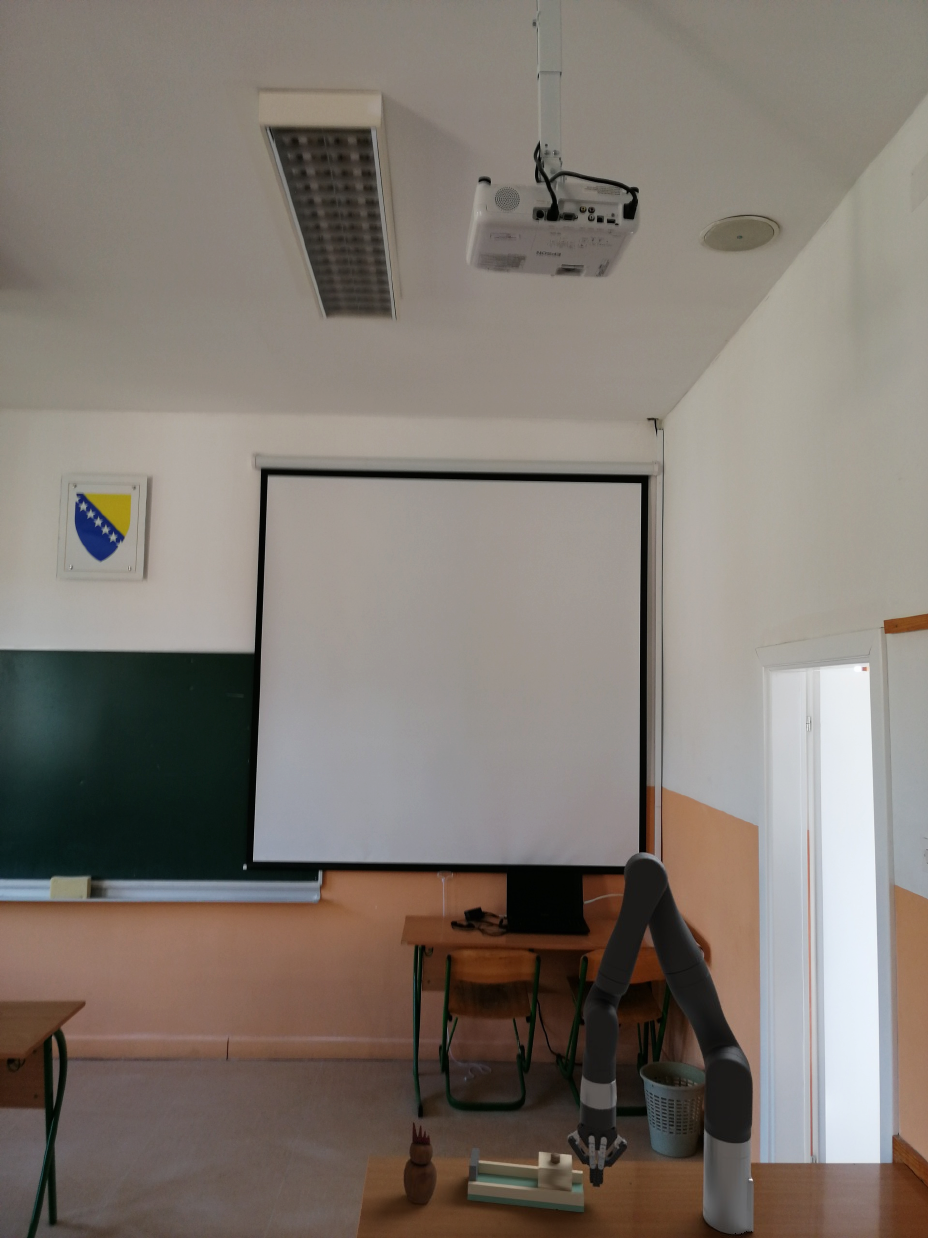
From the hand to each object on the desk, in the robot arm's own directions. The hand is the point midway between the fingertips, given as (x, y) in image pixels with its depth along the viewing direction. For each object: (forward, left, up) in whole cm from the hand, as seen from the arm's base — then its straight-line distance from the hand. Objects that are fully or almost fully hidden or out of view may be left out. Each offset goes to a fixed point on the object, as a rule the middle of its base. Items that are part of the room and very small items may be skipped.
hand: (595, 1185), depth 172 cm
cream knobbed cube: (+9, 0, -2) cm, 9 cm away
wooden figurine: (+37, +6, -3) cm, 37 cm away
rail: (+15, 0, -3) cm, 15 cm away
